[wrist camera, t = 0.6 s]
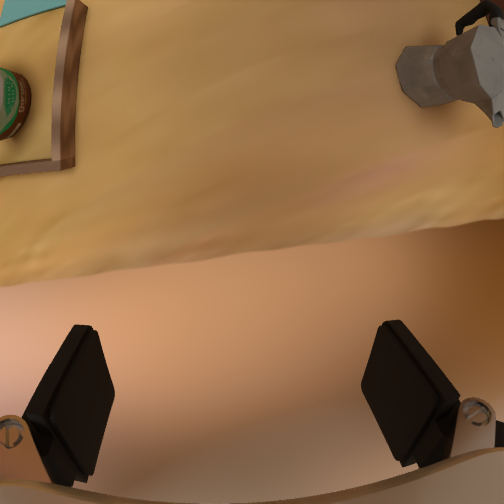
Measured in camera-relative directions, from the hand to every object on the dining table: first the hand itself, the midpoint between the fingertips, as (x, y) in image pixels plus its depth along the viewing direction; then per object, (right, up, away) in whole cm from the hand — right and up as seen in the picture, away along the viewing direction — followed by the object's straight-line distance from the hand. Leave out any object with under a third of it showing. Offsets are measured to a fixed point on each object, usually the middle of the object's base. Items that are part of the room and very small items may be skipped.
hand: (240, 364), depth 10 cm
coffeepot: (+23, +28, +23) cm, 43 cm away
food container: (-30, +24, +19) cm, 43 cm away
